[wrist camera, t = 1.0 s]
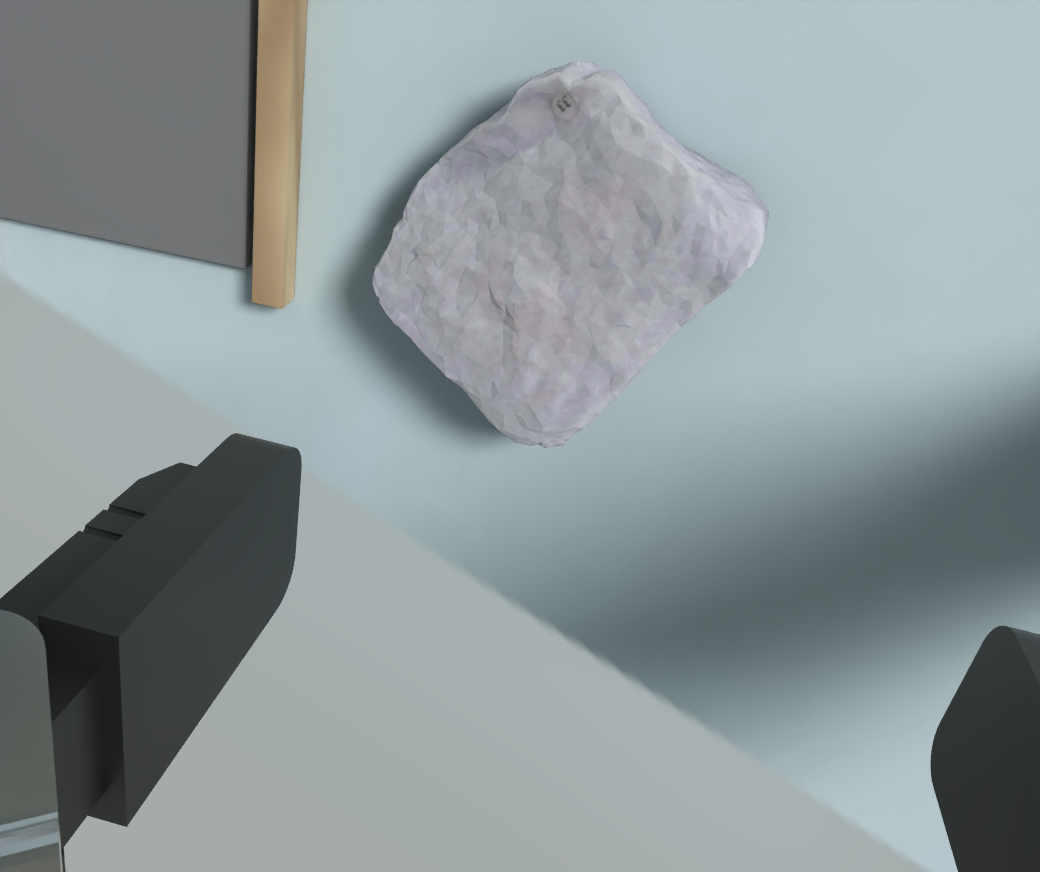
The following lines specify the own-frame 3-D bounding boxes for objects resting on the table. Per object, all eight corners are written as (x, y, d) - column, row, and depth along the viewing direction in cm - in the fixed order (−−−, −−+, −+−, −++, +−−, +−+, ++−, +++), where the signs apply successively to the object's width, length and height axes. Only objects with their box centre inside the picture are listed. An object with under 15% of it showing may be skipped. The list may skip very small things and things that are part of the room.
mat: (258, -88, 30) (251, -89, 29) (250, 265, 35) (245, 269, 35) (-56, -145, 30) (-67, -147, 30) (-15, 209, 36) (-23, 212, 35)
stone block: (382, 270, 36) (563, 445, 36) (325, 287, 32) (531, 486, 32) (581, 17, 31) (789, 220, 31) (546, -3, 27) (789, 232, 27)
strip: (312, -113, 29) (298, -117, 28) (293, 298, 35) (281, 308, 34) (277, -120, 29) (261, -124, 28) (264, 292, 36) (251, 302, 34)
